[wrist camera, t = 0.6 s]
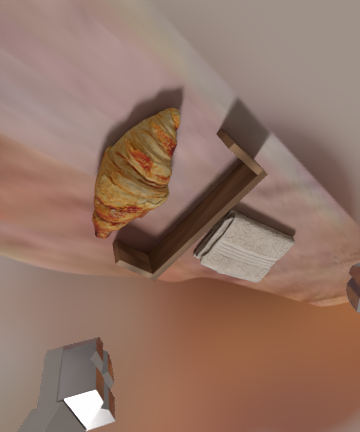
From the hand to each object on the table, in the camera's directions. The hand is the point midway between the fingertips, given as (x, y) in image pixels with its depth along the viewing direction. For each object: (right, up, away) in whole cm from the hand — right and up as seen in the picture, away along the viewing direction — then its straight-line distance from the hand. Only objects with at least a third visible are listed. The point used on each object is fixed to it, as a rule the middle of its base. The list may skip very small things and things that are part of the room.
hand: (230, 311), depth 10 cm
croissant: (-8, +9, +35) cm, 37 cm away
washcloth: (+10, -2, +51) cm, 52 cm away
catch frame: (-2, +5, +40) cm, 40 cm away
